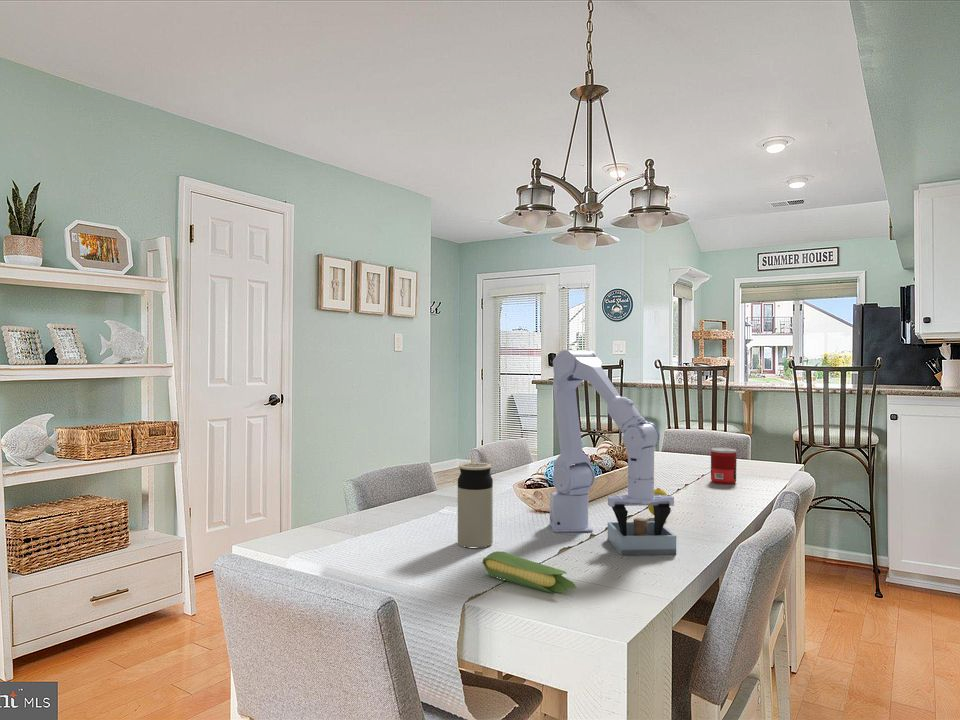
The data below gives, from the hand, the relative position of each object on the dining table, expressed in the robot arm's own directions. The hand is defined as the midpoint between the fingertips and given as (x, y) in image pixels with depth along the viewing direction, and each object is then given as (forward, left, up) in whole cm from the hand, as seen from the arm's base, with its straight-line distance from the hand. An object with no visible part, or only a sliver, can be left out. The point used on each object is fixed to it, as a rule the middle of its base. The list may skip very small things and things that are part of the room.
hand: (640, 537), depth 147 cm
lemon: (+12, +24, -2) cm, 27 cm away
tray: (0, 0, -2) cm, 2 cm away
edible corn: (-29, -22, -2) cm, 36 cm away
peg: (0, 0, -2) cm, 2 cm away
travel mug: (-37, +4, -2) cm, 37 cm away
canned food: (+49, +69, -2) cm, 85 cm away
